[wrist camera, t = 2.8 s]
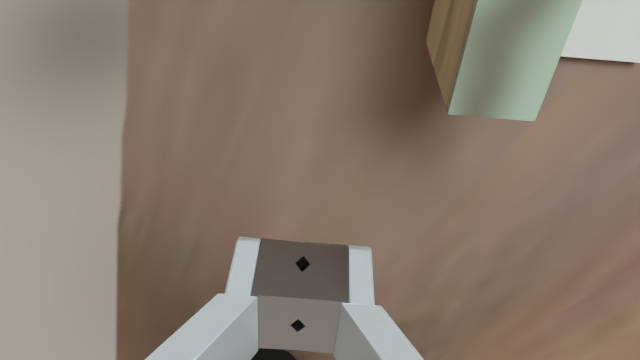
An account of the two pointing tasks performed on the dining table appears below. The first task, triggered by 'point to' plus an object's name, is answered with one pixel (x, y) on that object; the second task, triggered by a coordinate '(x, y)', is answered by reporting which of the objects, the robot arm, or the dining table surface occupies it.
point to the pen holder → (272, 354)
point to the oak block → (497, 53)
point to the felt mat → (605, 31)
